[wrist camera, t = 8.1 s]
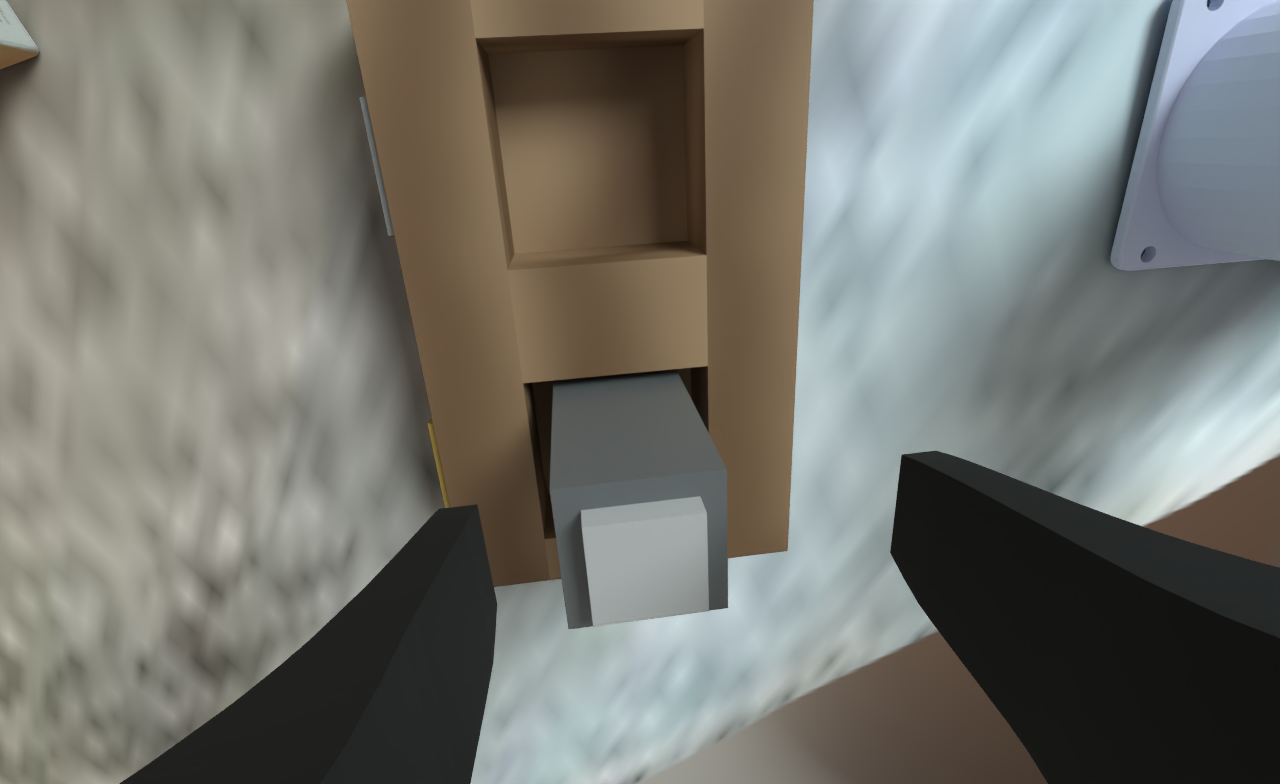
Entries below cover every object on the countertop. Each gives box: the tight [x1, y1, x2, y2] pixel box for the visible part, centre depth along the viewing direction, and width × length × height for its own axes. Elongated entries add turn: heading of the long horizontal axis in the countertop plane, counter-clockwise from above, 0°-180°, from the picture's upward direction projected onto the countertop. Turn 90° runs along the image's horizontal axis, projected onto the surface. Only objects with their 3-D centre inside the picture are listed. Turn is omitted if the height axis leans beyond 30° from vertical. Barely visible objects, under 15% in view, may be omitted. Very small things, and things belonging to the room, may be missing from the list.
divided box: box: [346, 0, 814, 587], centre depth 17 cm, size 10×16×3 cm, turn 3°
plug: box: [550, 369, 728, 629], centre depth 16 cm, size 4×4×8 cm
